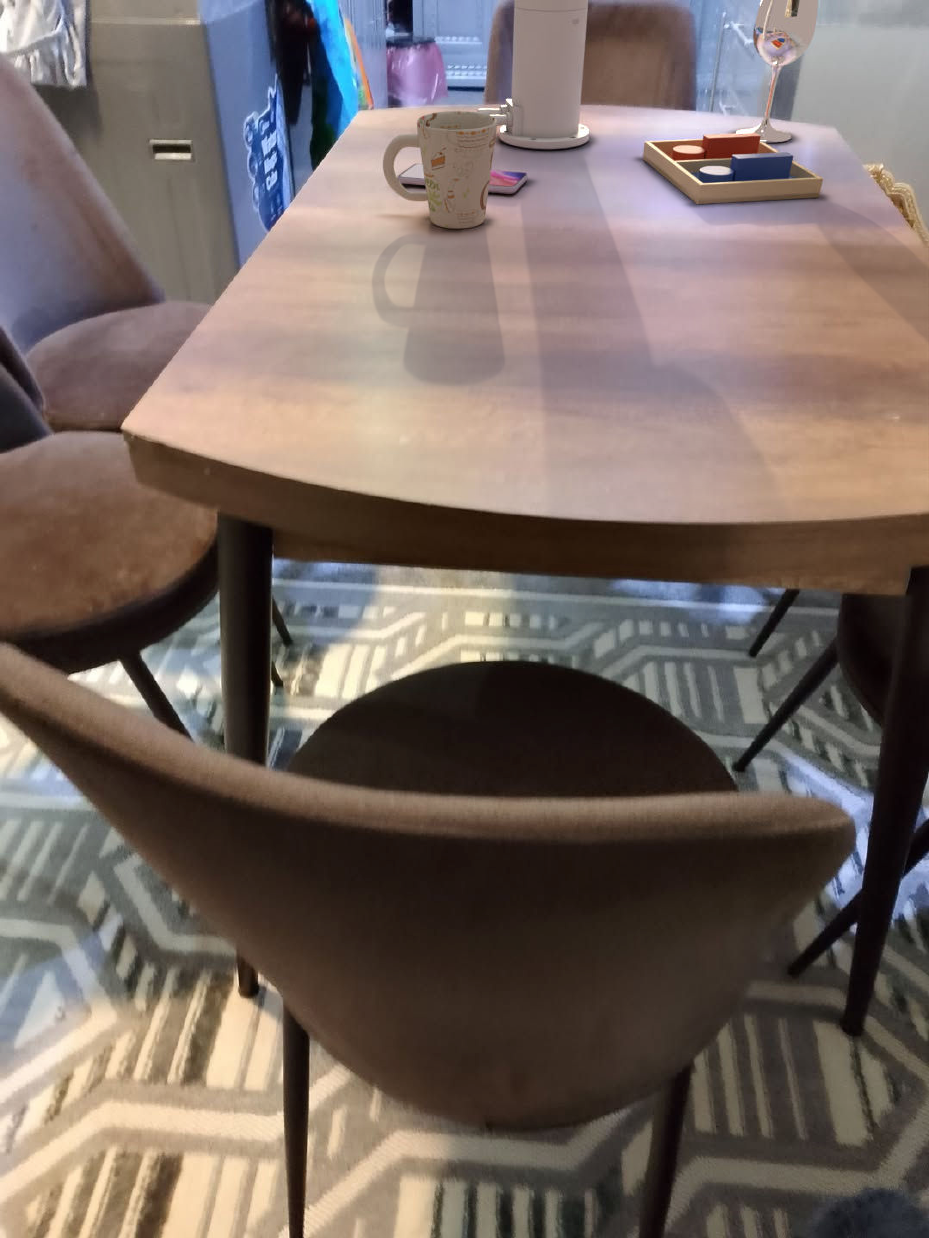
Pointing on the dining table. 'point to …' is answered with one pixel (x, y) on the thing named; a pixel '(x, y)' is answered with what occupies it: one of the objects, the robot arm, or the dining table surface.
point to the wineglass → (781, 47)
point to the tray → (687, 181)
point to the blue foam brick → (750, 168)
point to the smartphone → (498, 182)
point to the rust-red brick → (719, 147)
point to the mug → (449, 165)
